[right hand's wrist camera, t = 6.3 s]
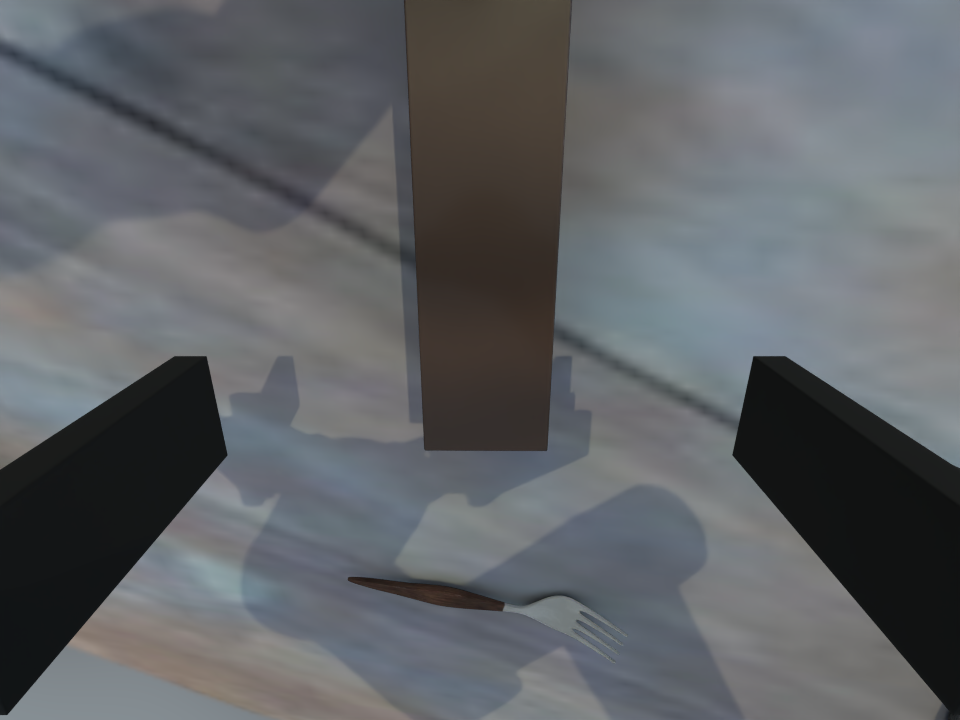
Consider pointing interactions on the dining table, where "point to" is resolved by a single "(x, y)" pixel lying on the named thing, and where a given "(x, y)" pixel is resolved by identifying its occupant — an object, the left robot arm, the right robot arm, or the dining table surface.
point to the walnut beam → (487, 213)
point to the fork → (504, 607)
